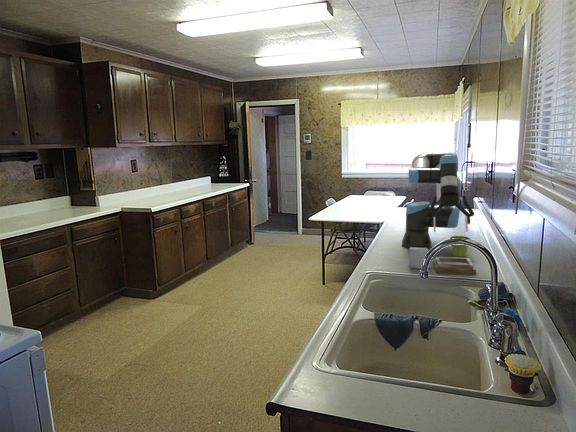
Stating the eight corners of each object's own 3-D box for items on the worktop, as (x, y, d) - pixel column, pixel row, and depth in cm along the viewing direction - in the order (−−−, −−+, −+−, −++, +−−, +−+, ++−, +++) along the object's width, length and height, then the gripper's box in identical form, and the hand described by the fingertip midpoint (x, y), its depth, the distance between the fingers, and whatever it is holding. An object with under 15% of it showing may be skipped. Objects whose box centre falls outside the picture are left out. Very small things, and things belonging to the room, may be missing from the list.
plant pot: (445, 255, 208) (446, 238, 206) (455, 251, 214) (456, 234, 212) (463, 259, 201) (464, 241, 199) (473, 255, 206) (474, 238, 205)
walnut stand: (432, 262, 197) (432, 255, 196) (469, 264, 193) (469, 256, 193) (436, 272, 183) (436, 265, 183) (475, 274, 180) (476, 266, 179)
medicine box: (427, 266, 192) (427, 247, 191) (427, 269, 188) (428, 250, 187) (409, 265, 195) (409, 247, 193) (409, 268, 190) (409, 249, 189)
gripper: (420, 185, 198) (421, 229, 192) (478, 183, 190) (481, 228, 184) (421, 191, 205) (421, 233, 199) (477, 188, 197) (479, 232, 191)
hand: (450, 231), depth 192 cm, fingers open, 13 cm apart
